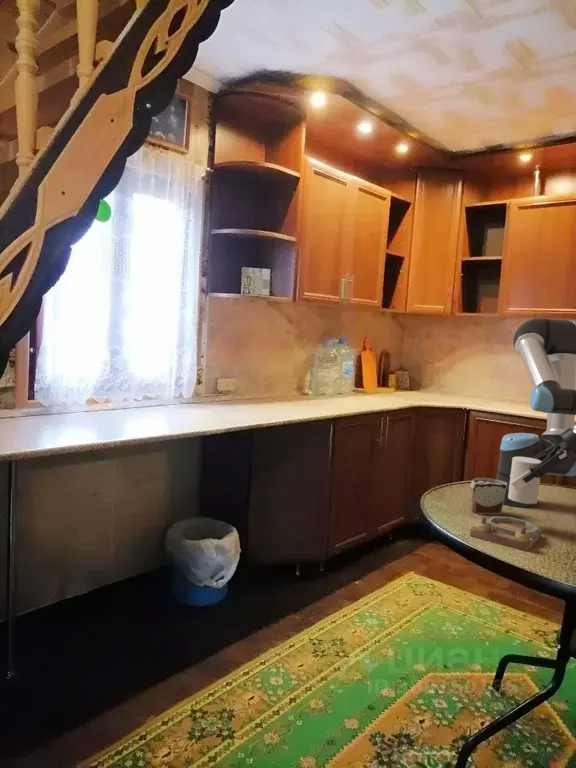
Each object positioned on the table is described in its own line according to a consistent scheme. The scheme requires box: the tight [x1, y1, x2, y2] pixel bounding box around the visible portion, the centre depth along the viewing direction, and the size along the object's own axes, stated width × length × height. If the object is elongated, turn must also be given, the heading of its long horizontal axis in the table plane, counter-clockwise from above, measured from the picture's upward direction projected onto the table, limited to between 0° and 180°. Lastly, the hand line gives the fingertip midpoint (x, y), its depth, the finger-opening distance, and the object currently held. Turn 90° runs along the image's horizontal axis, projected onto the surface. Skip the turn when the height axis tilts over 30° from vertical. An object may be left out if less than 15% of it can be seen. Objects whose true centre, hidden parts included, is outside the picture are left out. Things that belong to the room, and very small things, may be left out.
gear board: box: [469, 516, 542, 552], centre depth 162 cm, size 16×15×5 cm
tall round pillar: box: [508, 457, 542, 504], centre depth 172 cm, size 8×8×12 cm
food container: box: [469, 477, 508, 515], centre depth 185 cm, size 12×6×10 cm, turn 104°
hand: (513, 482), depth 173 cm, fingers closed on tall round pillar, 8 cm apart
